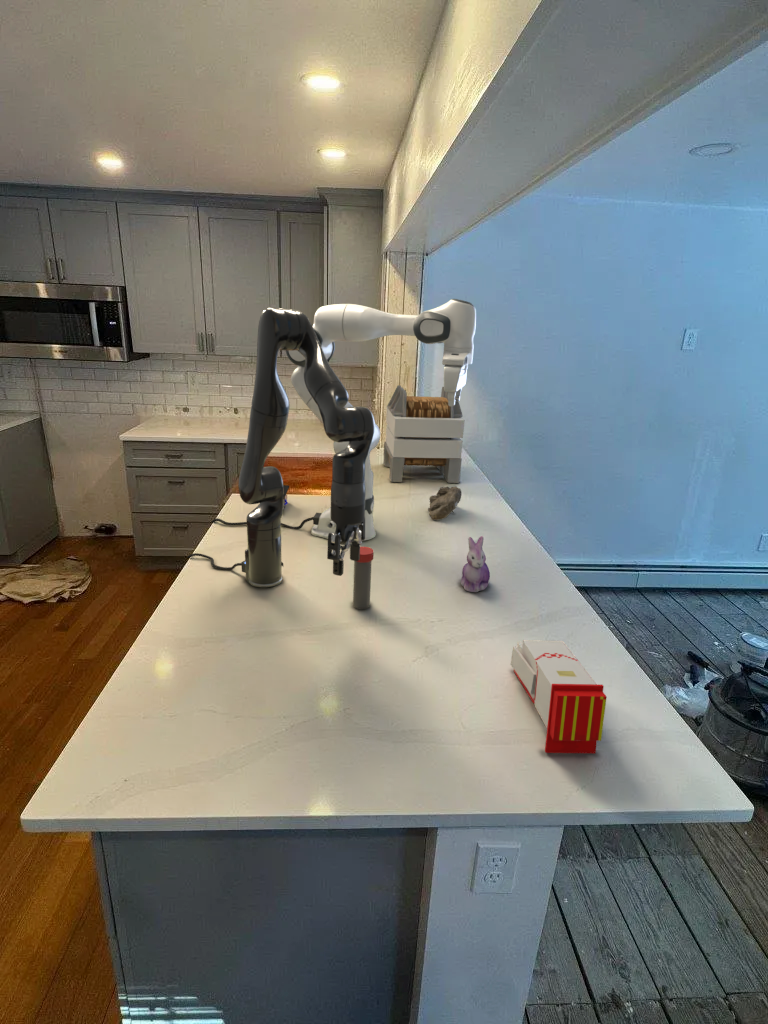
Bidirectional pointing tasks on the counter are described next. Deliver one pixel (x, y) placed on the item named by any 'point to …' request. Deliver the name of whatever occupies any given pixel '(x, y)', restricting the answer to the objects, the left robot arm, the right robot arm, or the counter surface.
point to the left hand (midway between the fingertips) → (346, 567)
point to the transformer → (423, 434)
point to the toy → (561, 695)
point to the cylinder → (362, 585)
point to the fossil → (444, 502)
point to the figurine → (475, 568)
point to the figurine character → (285, 495)
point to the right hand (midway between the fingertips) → (454, 403)
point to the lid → (366, 554)
